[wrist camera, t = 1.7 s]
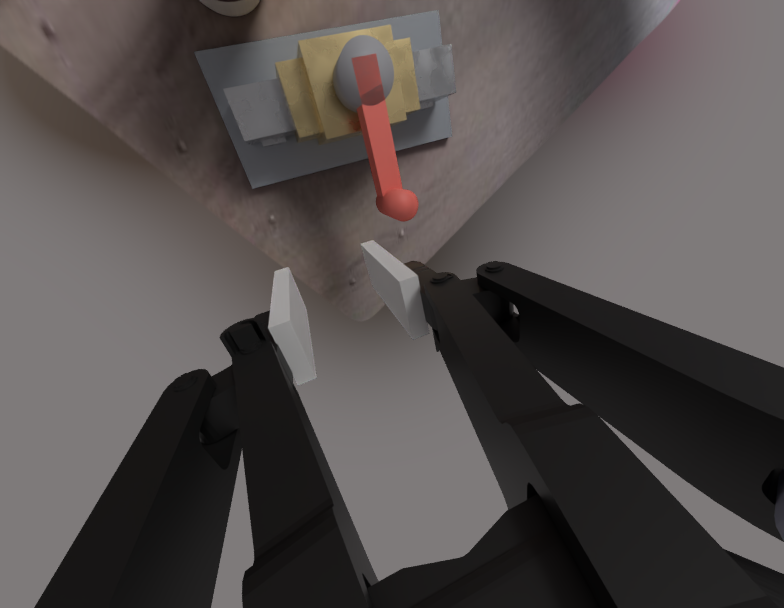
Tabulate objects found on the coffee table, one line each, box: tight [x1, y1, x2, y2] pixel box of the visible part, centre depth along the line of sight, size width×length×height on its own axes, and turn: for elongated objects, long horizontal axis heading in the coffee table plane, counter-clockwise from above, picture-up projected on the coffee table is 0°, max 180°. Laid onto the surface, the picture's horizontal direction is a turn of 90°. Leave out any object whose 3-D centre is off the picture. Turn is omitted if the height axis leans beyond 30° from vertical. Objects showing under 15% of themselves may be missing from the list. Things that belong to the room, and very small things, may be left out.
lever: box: [333, 35, 418, 221], centre depth 25 cm, size 14×4×6 cm, turn 14°
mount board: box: [194, 10, 452, 189], centre depth 32 cm, size 25×12×1 cm, turn 104°
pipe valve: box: [223, 25, 456, 148], centre depth 28 cm, size 22×7×7 cm, turn 104°
